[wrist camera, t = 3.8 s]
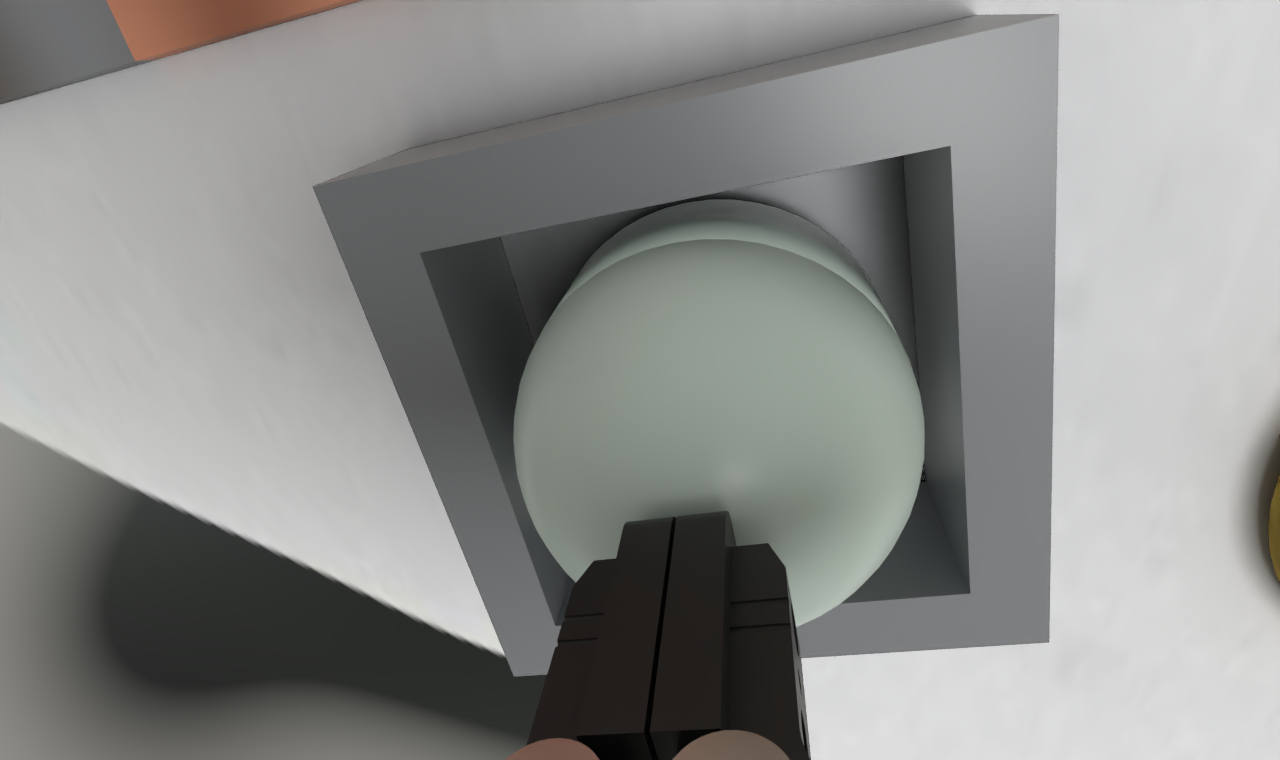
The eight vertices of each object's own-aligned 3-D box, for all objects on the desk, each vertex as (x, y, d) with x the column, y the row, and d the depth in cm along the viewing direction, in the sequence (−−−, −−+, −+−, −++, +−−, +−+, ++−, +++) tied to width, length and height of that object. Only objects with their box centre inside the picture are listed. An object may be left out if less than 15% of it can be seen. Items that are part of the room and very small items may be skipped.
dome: (868, 157, 15) (972, 274, 8) (896, 465, 18) (987, 730, 11) (524, 227, 17) (375, 371, 10) (605, 498, 20) (533, 749, 13)
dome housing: (977, 14, 14) (1058, 14, 10) (990, 523, 19) (1049, 642, 15) (406, 149, 16) (312, 186, 13) (552, 566, 21) (513, 676, 18)
